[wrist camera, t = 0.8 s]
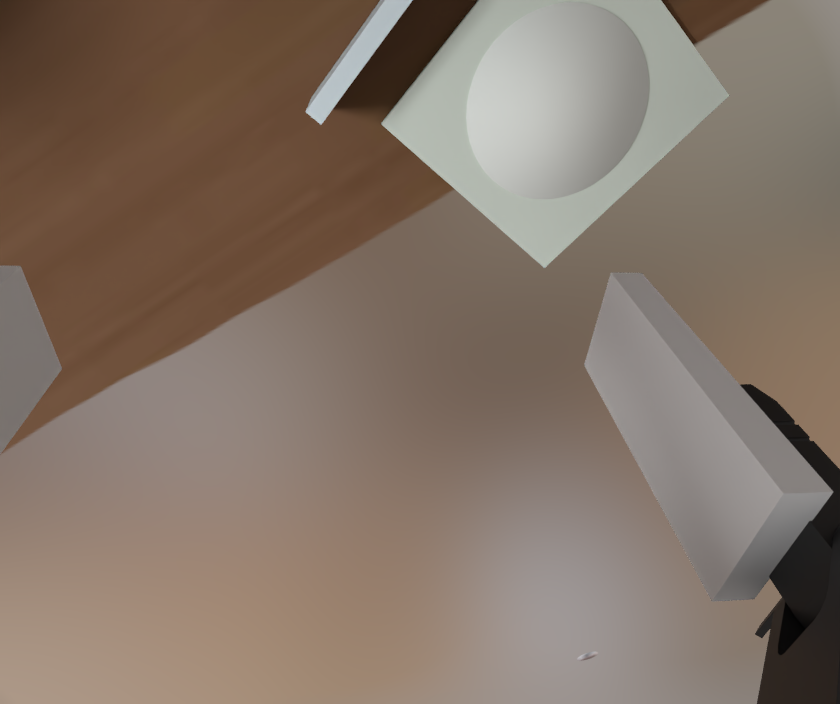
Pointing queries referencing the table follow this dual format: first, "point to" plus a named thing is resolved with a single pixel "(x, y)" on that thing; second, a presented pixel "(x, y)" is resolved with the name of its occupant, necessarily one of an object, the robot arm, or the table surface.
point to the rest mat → (554, 110)
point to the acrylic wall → (355, 57)
